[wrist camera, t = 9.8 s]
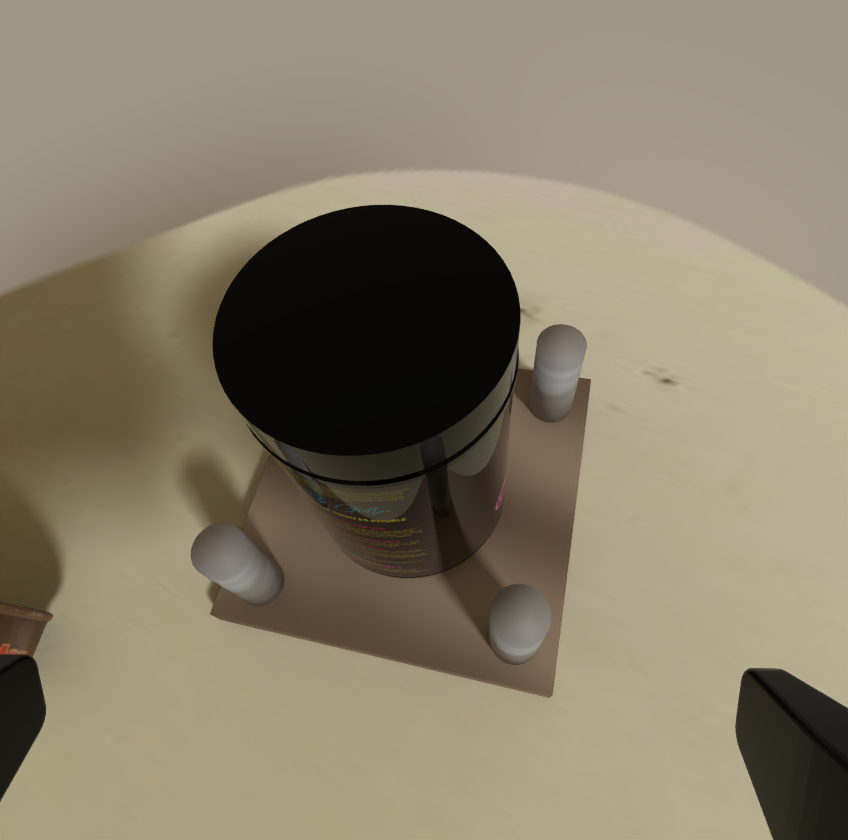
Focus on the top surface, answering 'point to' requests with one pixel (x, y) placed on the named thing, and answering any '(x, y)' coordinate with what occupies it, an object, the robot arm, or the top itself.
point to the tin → (21, 628)
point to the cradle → (440, 594)
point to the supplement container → (380, 379)
